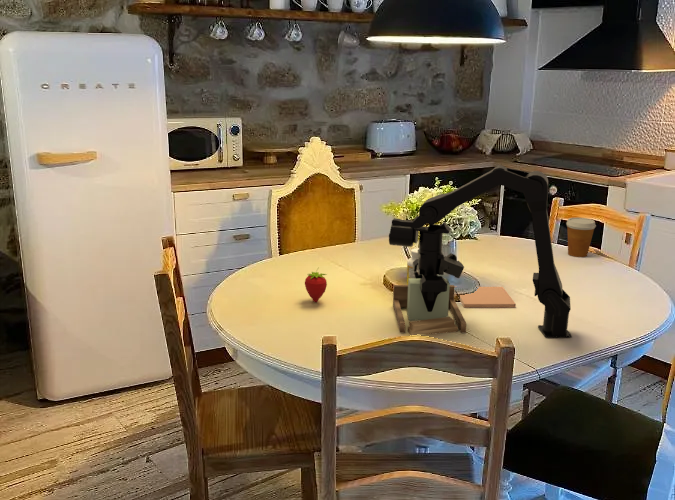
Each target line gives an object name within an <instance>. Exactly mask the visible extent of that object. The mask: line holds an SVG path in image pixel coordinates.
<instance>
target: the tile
mask: <svg viewBox="0 0 675 500" xmlns="http://www.w3.org/2000/svg"><path fill="white" fill-rule="evenodd" d="M478 287H479V288H478V289H477V291H475V292H474V293H471V294H465V295H460V299H459V301H460V303H461V305H462V307H463V308H475V309H476V308H479V309H480V308H481V309H482V308H483V309H484V308H489V309H490V308H491V309H493V308H498V309H500V308H504V309H505V308H509V309H511V308H516V306H517V304H516V302H515V300H513V298H512V297H511V295H510V294H509V292H507V290H506V289H505V288H504V287H503V286H478Z"/></svg>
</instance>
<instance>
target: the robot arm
mask: <svg viewBox="0 0 675 500" xmlns="http://www.w3.org/2000/svg"><path fill="white" fill-rule="evenodd" d="M497 186H503V187H505V188H508V189H510V190H513V191H516V192H519V193H523V197H524V199H525V202H526V205H527V207H528V209H529V212H530V215H531V223H532V229H533V230H532V231H533V236H534V237H533V238H534V243H535V245H534V246H535V251H536V252H535V253H536V257H537V265H538V272H533V275H532V283H533V286H534V297H537V299H538V302H539V303H541V304H542V305H543V306H544V311H543V313H544V314H543V322H542V325H540V324H539V325H538V326H537V329H538V330H539V331H540V332H541V334H542V335H543V336H544V337H545V338H572V337H573V335H572V334H571V332H570V331H569V330H568V326H569V316H570V311H571V296H569V294H568V293H567V292H566V291H565V290H564V289H563V283H562V281H561V280H562V279H561V277H560V275H559V272H558V269H557V267H556V265H555V260H554V252H553V245H552V238H551V237H552V236H551V229H550V222H549V215H548V197H549V196H548V195H549V179H548V176H547V175H546V174H545V173H544V172H542V171H538V170H533V171H531V172H529V171H526V170H525V171H524V170H521V169H515V168H511V167H506V166H504V165H497V166H495V167H494V168H493V169H491V170H490V171H488V172H486V173H484V174H483V175H480V176H479V177H477V178H475V179H473V180H471V181H469V182H467V183H466V184H464V185H462V186H460V187H458V188H455V189H454V190H452V191H449V192H446V193H445V192H444V193H441V194H437V195H435V196H432V197H429V198H427V199H426V200H425V201H424V202H423V204H422V205H420V207H419V211H418V215H417V216H415V218H414V219H413V220H409V219H401V218H395V217H394V218H393V219H392V220H391V226H390V231H389V233H388V243H389V245H390V246H397V247H408V248H410V247H411V248H413V246H414V244H417V243H418V248H419V249H418V255H419V259H416V260H415V261H414V262H413V271H414V275H415V278H416V279H420V290H421V293H422V296H423V299H424V302H425V305H426V308H427V311H428V312H432V310H433V307H434V304H435V301H436V298H437V296H438V294H440V293H441V292H446V291H447V282H446V280H445V279H446V278H444V277H443V275H444V274H447V275H450V276H453V277H454V278H457V279H460V278H461V276H462V273H463V272H464V268H465V266H464V264H463V263H462V262H461V261H460V260H458V258H457V255H456V254H454V253H452V252H450V253H449V254H448V255H444V253H443V234H447V235H448V234H450V231H451V230H452V228H451V227H450V226H449V225H448V224H447V222H446V221H443V222H442V223H441V224H438V223H439V222H440V221H442V220H443V219H444V218H446V216H448V215H450V213H451V212H453V211H454V210H455V209H457V208H458V207H459V206H461V205H464V204H465V203H467V202H469V201H470V200H473V199H476V197H479V196H480V195H483V194H484V193H486V192H488V191H490V190H492V189H494V188H496V187H497ZM426 225H428V226H426ZM418 240H419V241H418ZM416 270H417V272H416Z"/></svg>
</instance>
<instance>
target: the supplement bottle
mask: <svg viewBox="0 0 675 500" xmlns="http://www.w3.org/2000/svg"><path fill="white" fill-rule="evenodd" d="M418 249H419V247H417V248H412V249H411V250H410V254H411V257H410V258H408V259H407V265H406V266H407V268H406V285H408V278H415V275H414V271H413V262H414V261H415V260H416V259H419V255H418ZM416 272H417V270H416ZM415 279H416V278H415Z"/></svg>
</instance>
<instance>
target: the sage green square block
mask: <svg viewBox="0 0 675 500" xmlns="http://www.w3.org/2000/svg"><path fill="white" fill-rule="evenodd" d="M444 279H445V280H446V282H447V291H446V292H441V293H440V294H438V296H437V298H436V301H435V304H434V307H433V310H432V312H428V311H427V308H426V305H425V302H424V299H423V296H422V293H421V290H420V279H415V278H408V300H407V308H406V316H407V320H408V321H419V320H427V319H435V318H443V317H449V308H448V305H449V288H450V285H451V283H450V282H449V279H448V278H444Z"/></svg>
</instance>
